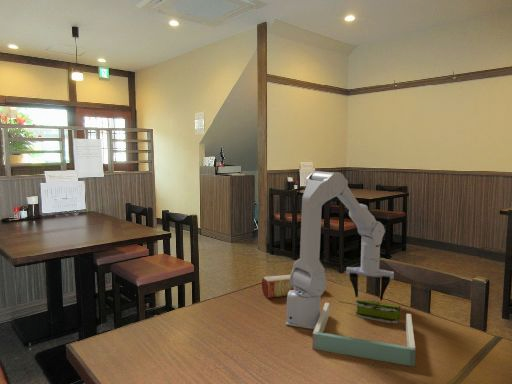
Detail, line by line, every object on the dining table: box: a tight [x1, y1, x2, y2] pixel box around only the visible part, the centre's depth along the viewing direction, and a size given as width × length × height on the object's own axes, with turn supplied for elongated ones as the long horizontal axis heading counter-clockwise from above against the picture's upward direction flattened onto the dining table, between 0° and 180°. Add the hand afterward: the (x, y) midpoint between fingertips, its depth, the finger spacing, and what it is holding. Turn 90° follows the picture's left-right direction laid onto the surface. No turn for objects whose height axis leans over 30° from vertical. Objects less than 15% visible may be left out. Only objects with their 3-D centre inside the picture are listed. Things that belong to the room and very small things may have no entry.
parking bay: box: [311, 302, 416, 367], centre depth 99 cm, size 24×20×4 cm
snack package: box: [261, 274, 294, 299], centre depth 130 cm, size 21×7×7 cm, turn 107°
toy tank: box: [339, 299, 402, 324], centre depth 113 cm, size 7×19×10 cm
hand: (368, 297), depth 122 cm, fingers open, 7 cm apart
